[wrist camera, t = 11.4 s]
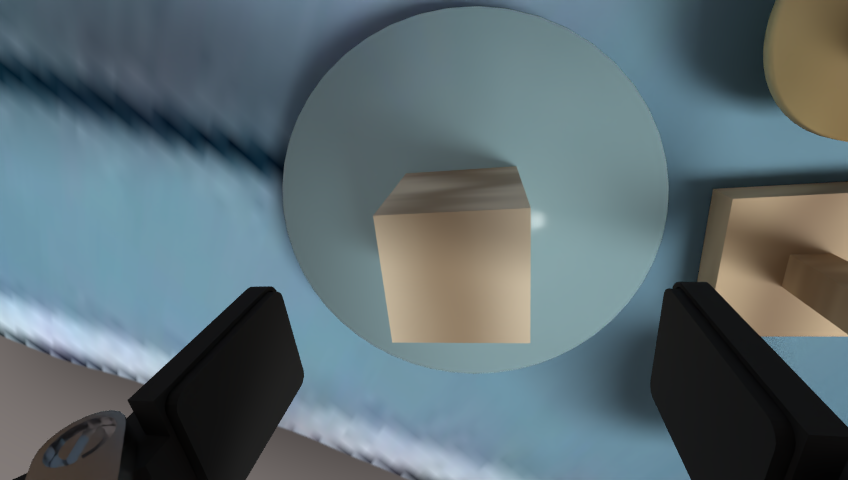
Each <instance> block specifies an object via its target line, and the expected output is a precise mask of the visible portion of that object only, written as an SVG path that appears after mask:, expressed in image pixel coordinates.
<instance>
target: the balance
mask: <svg viewBox="0 0 848 480" xmlns="http://www.w3.org/2000/svg"><path fill="white" fill-rule="evenodd" d="M763 66H764V72H765V78H766V82H767V85H768V88H769V91H770V93H771V95H772V97H773V99H774V101H775V103H776V104H777V106H778V107H779V108H780V109H781V111H782V112H783V113H784V114H785V115H786V116H787V117H788V118H789V119H790V120H791V121H793V122H794V123H795V124H797V125H798V126H800V127H802V128H803V129H805V130H807V131H809V132H812V133H814V134H816V135H819V136H823V137H827V138H831V139H836V140H841V141H846V142H848V0H776V1H775V3H774V6H773V9H772V11H771V14H770V17H769V21H768V25H767V28H766V32H765V39H764V47H763ZM697 282H708V283H709V284H710V285H711V286H712V287H713V288H714V289H715V290H716V291H717V292H718V293H719V294H720V295H721V296H722V297H723V298H724V299H725V300H726V301H727V302H728V303H729V304H730V306H731V307H732V308H733V309H734V310H735V311H736V312H737V313H738V314H739V315H740V316H741V317H742V318H743V319H744V320H745V321H746V322H747V323H748V324H749V325H750V326H751V327H752V328H753V329H754V330H755V331H756V332H757V334H758V335H759V336H848V181H847V182H829V183H811V184H793V185H775V186H757V187H739V188H721V189H713V193H712V198H711V204H710V210H709V216H708V222H707V227H706V233H705V239H704V245H703V250H702V256H701V262H700V268H699V273H698V279H697Z"/></svg>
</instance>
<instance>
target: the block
mask: <svg viewBox="0 0 848 480" xmlns="http://www.w3.org/2000/svg"><path fill="white" fill-rule="evenodd" d="M373 219H374V225H375V232H376V239H377V245H378V252H379V258H380V265H381V271H382V278H383V285H384V291H385V298H386V304H387V311H388V317H389V324H390V331H391V337H392V343H530V300H531V207H530V204H529V201H528V198H527V195H526V193H525V190H524V187H523V184H522V181H521V178H520V175H519V172H518V169H517V166H512V167H496V168H481V169H466V170H451V171H435V172H420V173H406V174H405V175H404V177H403V178H402V179H401V180H400V182H399V183H398V184H397V186H396V187H395V188H394V189H393V191H392V192H391V193H390V195H389V196H388V197H387V198H386V200H385V201H384V202H383V204H382V205H381V206H380V207H379V209H378V210H377V211H376V213H375V214H374V215H373Z"/></svg>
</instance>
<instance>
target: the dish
mask: <svg viewBox="0 0 848 480" xmlns="http://www.w3.org/2000/svg"><path fill="white" fill-rule="evenodd" d="M512 166H517V169H518V172H519V175H520V178H521V181H522V184H523V187H524V190H525V193H526V195H527V198H528V201H529V204H530V207H531V300H530V343H392V337H391V331H390V324H389V317H388V311H387V304H386V298H385V291H384V285H383V278H382V271H381V265H380V258H379V252H378V245H377V239H376V232H375V225H374V219H373V215H374V214H375V213H376V211H377V210H378V209H379V207H380V206H381V205H382V204H383V202H384V201H385V200H386V198H387V197H388V196H389V195H390V193H391V192H392V191H393V189H394V188H395V187H396V186H397V184H398V183H399V182H400V180H401V179H402V178H403V177H404V175H405V174H406V173H420V172H435V171H451V170H466V169H481V168H496V167H512ZM282 190H283V210H284V215H285V221H286V226H287V232H288V235H289V238H290V241H291V245H292V248H293V251H294V254H295V256H296V258H297V260H298V262H299V265H300V267H301V269H302V271H303V273H304V275H305V276H306V278H307V280H308V281H309V283H310V285H311V286H312V288H313V290H314V291H315V292H316V294H317V295H318V296H319V297H320V299H321V300H322V301H323V303H324V304H325V305H326V307H327V308H328V309H329V310H330V311H331V312H332V313H333V314H334V315H335V316H336V317H337V318H338V319H339V320H340V321H341V322H342V323H343V324H345V325H346V326H347V327H348V328H349V329H351V330H352V331H353V332H354V333H355V334H357V335H358V336H360V337H361V338H363V339H364V340H366V341H367V342H369V343H370V344H372V345H373V346H375V347H377V348H379V349H381V350H383V351H385V352H386V353H388V354H390V355H392V356H395V357H397V358H400V359H402V360H405V361H407V362H410V363H413V364H417V365H420V366H424V367H427V368H431V369H436V370H442V371H448V372H457V373H472V374H475V373H496V372H503V371H510V370H516V369H520V368H524V367H528V366H532V365H536V364H539V363H541V362H544V361H547V360H549V359H552V358H555V357H557V356H559V355H561V354H563V353H565V352H567V351H569V350H571V349H573V348H575V347H577V346H578V345H580V344H581V343H583V342H584V341H586V340H587V339H589V338H590V337H592V336H593V335H595V334H596V333H597V332H599V331H600V330H601V329H602V328H603V327H605V326H606V325H607V324H608V323H609V322H610V321H612V320H613V319H614V318H615V317H616V316H617V314H618V313H619V312H620V311H621V310H622V309H623V308H624V307H625V306H626V305H627V304H628V302H629V301H630V300H631V298H632V297H633V295H634V294H635V293H636V291H637V290H638V288H639V287H640V286H641V284H642V283H643V281H644V279H645V277H646V275H647V273H648V271H649V269H650V268H651V266H652V264H653V262H654V259H655V257H656V254H657V251H658V248H659V246H660V243H661V240H662V237H663V232H664V227H665V222H666V217H667V211H668V193H669V183H668V173H667V162H666V157H665V153H664V149H663V145H662V141H661V137H660V134H659V131H658V129H657V127H656V124H655V122H654V120H653V117H652V115H651V113H650V110H649V108H648V107H647V105H646V103H645V102H644V100H643V99H642V97H641V95H640V94H639V92H638V91H637V89H636V87H635V86H634V84H633V83H632V82H631V81H630V80H629V78H628V77H627V76H626V75H625V74H624V73H623V72H622V70H621V69H620V68H619V67H618V66H617V65H616V63H615V62H613V61H612V60H611V59H610V58H609V57H608V56H606V55H605V54H604V53H603V52H602V51H600V50H599V49H598V48H597V47H596V46H594V45H593V44H592V43H591V42H589V41H587V40H586V39H584V38H582V37H581V36H579V35H577V34H576V33H574V32H572V31H571V30H569V29H567V28H566V27H563V26H561V25H558V24H556V23H553V22H551V21H549V20H546V19H544V18H541V17H539V16H536V15H531V14H527V13H523V12H519V11H515V10H511V9H504V8H493V7H481V6H473V7H457V8H446V9H441V10H436V11H432V12H427V13H422V14H418V15H415V16H413V17H410V18H407V19H405V20H402V21H399V22H397V23H394V24H391V25H389V26H388V27H386V28H384V29H382V30H380V31H378V32H377V33H375V34H373V35H371V36H369V37H368V38H366V39H365V40H363V41H362V42H361V43H359V44H358V45H357V46H355V47H354V48H353V49H351V50H350V51H349V52H347V53H346V54H345V55H344V56H343V57H342V58H341V59H340V60H339V61H338V62H337V63H336V64H335V65H334V66H333V67H332V68H331V69H330V70H329V71H328V72H327V73H326V74H325V75H324V77H323V78H322V79H321V81H320V82H319V83H318V85H317V86H316V87H315V89H314V90H313V92H312V93H311V94H310V96H309V98H308V99H307V101H306V103H305V105H304V107H303V109H302V111H301V113H300V114H299V116H298V118H297V121H296V124H295V127H294V129H293V132H292V135H291V137H290V140H289V144H288V149H287V153H286V158H285V163H284V173H283V185H282Z"/></svg>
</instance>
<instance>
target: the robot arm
mask: <svg viewBox="0 0 848 480" xmlns="http://www.w3.org/2000/svg"><path fill="white" fill-rule="evenodd" d="M303 378H304V371H303V367H302V364H301V360H300V357H299V353H298V350H297V346H296V343H295V339H294V335H293V332H292V328H291V325H290V321H289V318H288V314H287V311H286V307H285V304H284V300H283V297H282V295H281V293H279V292H277V291H276V290H275V288H273V287H250V288H248V289H247V290H246V291H245V292H244V293H242V294H241V295H240V296H239V297H238V298H237V299H236V300H235V301H234V302H233V303H232V304H231V305H230V306H228V307H227V308H226V309H225V310H224V311H223V312H222V313H221V314H220V315H219V316H218V317H217V318H216V319H214V320H213V321H212V322H211V323H210V324H209V325H208V326H207V327H206V328H205V329H204V330H203V331H202V332H201V333H199V334H198V335H197V336H196V337H195V338H194V339H193V340H192V341H191V342H190V343H189V344H188V345H187V346H185V347H184V348H183V349H182V350H181V351H180V352H179V353H178V354H177V355H176V356H175V357H174V358H173V359H171V360H170V361H169V362H168V363H167V364H166V365H165V366H164V367H163V368H162V369H161V370H160V371H159V372H157V373H156V374H155V375H154V376H153V377H152V378H151V379H150V380H149V381H148V382H147V383H146V384H145V385H143V386H142V387H141V388H140V389H139V390H138V391H137V392H136V393H135V394H134V395H133V396H132V397H131V398H130V399H128V402H129V404H130V406H131V408H132V410H133V413H132V414H131V415H130V416H129V417H128V418H127V419H126V417H125V415H124V414H122V413H121V412H120V411H113V410H109V411H102V412H98V413H95V414H91V415H89V416H86V417H84V418H82V419H80V420H77V421H75V422H73V423H71V424H70V425H68V426H67V427H65V428H63V429H62V430H60V431H59V432H58V433H56V434H55V435H54V436H52V437H51V438H50V439H49V440H48V441H47V442H46V443H45V444H44V445H43V446H42V447H41V448H40V449H39V450H38V452H37V453H36V455H35V457H34V458H33V460H32V462H31V465H30V468H29V471H28V473H26V474H24V475H22V476H20V477H18V478H16V479H13V480H246V478H247V476H248V475H249V473H250V471H251V470H252V468H253V466H254V465H255V463H256V461H257V460H258V458H259V456H260V454H261V453H262V451H263V449H264V448H265V446H266V444H267V443H268V441H269V439H270V437H271V436H272V434H273V433H274V431H275V429H276V427H277V426H278V424H279V422H280V421H281V419H282V417H283V416H284V414H285V412H286V411H287V409H288V407H289V405H290V404H291V402H292V400H293V399H294V397H295V395H296V394H297V392H298V390H299V389H300V387H301V385H302V383H303ZM650 387H651V393H652V397H653V400H654V402H655V404H656V406H657V408H658V410H659V412H660V414H661V417H662V419H663V421H664V423H665V425H666V427H667V429H668V432H669V434H670V436H671V438H672V440H673V442H674V444H675V446H676V449H677V451H678V453H679V455H680V457H681V459H682V461H683V463H684V466H685V468H686V470H687V472H688V474H689V476H690V478H691V480H848V427H847V426H846V425H845V424H844V423H843V422H842V421H841V420H840V419H839V418H838V416H837V415H836V414H835V413H834V412H833V411H832V410H831V409H830V408H829V407H828V406H827V405H826V404H825V403H824V402H823V401H822V400H821V399H820V398H819V397H818V396H817V395H816V394H815V393H814V392H813V391H812V390H811V388H810V387H809V386H808V385H807V384H806V383H805V382H804V381H803V380H802V379H801V378H800V377H799V376H798V375H797V374H796V373H795V372H794V371H793V370H792V369H791V368H790V367H789V366H788V365H787V364H786V363H785V362H784V360H783V359H782V358H781V357H780V356H779V355H778V354H777V353H776V352H775V351H774V350H773V349H772V348H771V347H770V346H769V345H768V344H767V343H766V342H765V341H764V340H763V339H762V338H761V337H760V336H759V335H758V334H757V332H756V331H755V330H754V329H753V328H752V327H751V326H750V325H749V324H748V323H747V322H746V321H745V320H744V319H743V318H742V317H741V316H740V315H739V314H738V313H737V312H736V311H735V310H734V309H733V308H732V307H731V306H730V304H729V303H728V302H727V301H726V300H725V299H724V298H723V297H722V296H721V295H720V294H719V293H718V292H717V291H716V290H715V289H714V288H713V287H712V286H711V285H710V284H709V283H708V282H676V283H675V284H674V286H673V289H666V290H665V292H664V297H663V303H662V310H661V316H660V323H659V329H658V336H657V342H656V349H655V355H654V362H653V368H652V375H651V382H650Z"/></svg>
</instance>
